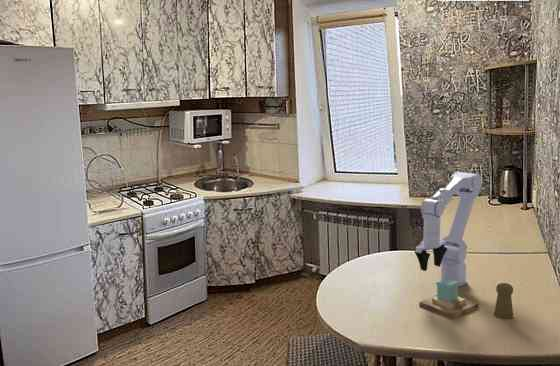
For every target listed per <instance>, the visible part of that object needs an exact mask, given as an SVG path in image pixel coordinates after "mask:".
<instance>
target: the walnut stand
mask: <svg viewBox="0 0 560 366" xmlns="http://www.w3.org/2000/svg"><path fill="white" fill-rule="evenodd" d="M419 307H422V308H425V309H427V310H429V311H432V312H434V313H437V314H439V315H441V316H444V317H447V318H449V319H451V320H453V319H456V318H458V317H459V316H462V315H465V314H467V313H469V312H472V311H474V310H477V309H479V303H477V302H475V301H471V300H470V299H467V298H464V297H462V296H458V298H457V299H455V300H453V301H451V302H447V301H444V300H441V299H438V298H437V294H436V295H434V296H430V297H428V298H425V299H422V300H420V301H419Z"/></svg>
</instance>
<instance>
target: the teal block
mask: <svg viewBox="0 0 560 366" xmlns="http://www.w3.org/2000/svg"><path fill="white" fill-rule="evenodd" d="M440 280H441V279H440ZM438 281H439V280H438ZM436 282H437V281H436ZM436 284H437V285H436V287H437V291H436V295H437V298H438V299H441V300H444V301H447V302H451V301H453V300H455V299H457V298H458V297H459V286H458V282H457V281H453V280H450V279H446V278H445V279H443V280H441V281H439V282H437V283H436Z"/></svg>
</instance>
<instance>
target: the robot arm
mask: <svg viewBox="0 0 560 366" xmlns="http://www.w3.org/2000/svg"><path fill="white" fill-rule="evenodd" d="M482 185H483V181H482V176H481V174H480V173H471V172H461V171H455V172H453V174H452V176H451V180H450V182H449V183H448V184H447V186H446V187H444V188H439V190H437V191H436V193H434V194H433V195H432V196H431V197H430V198H426V199H424V200H423V201H422V203H421V205H420V212H421V214H422V216H421V218H422V220H423V232H422V233H423V234H422V235H423V239H422V241H421V242H420V244H419V245H416V246H415V250H414V254H415V256H416V257H417V260H418V263H419V267H420V270H421V271H423V272H426V271H427V270H428V265H429V263H428V262H429V259H430V256H431V253H428V252H427V251H429V250H432V252H433V253H432V254H433V264H434V266H435V267H439V268H440V279H439V280H437V281H435V283H436V284H437V282H439V281H441V280H443V279H445V278H446V279H450V280H453V281H457V282H458V287H460V286H463V285H466V284H468V280H467V264H466V263H465V260H466V258H467V250H468V245H467V243H466V242H465V241H464V240H463V238H464V235H465V232H466V228H467V225H468V221H469V217H470V215H471V211H472V208H473V204H474V202H475V199H476V198H478V197H479V194H480V192H481V188H482ZM455 194H456V195H457V196H459V197H460V199H459V203H458V205H457V208H456V211H455V214H454V217H453V221H452V224H451V227H450V230H449V232H448V235H447V236H445V237H443V238H441V216H443V214H444V211H445V209H446V206H447V205H448V204H450V202H451V201H452V200H453V196H454V195H455Z"/></svg>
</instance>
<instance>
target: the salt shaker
mask: <svg viewBox="0 0 560 366" xmlns="http://www.w3.org/2000/svg"><path fill="white" fill-rule="evenodd" d="M495 290H496V293H497V294H496V295H497V296H496V301H495V306H494V312H493V316H494V317H495V318H497V319H501V320H511V319H513V318H514V313H513V312H514V310H513V309H514V308H513V302H512V301H513V299H512V298H513V297H512V295H513V293H514V287H513V285H511V284H509V283H506V282H501V283H498V284H497V285H496V289H495Z"/></svg>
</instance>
